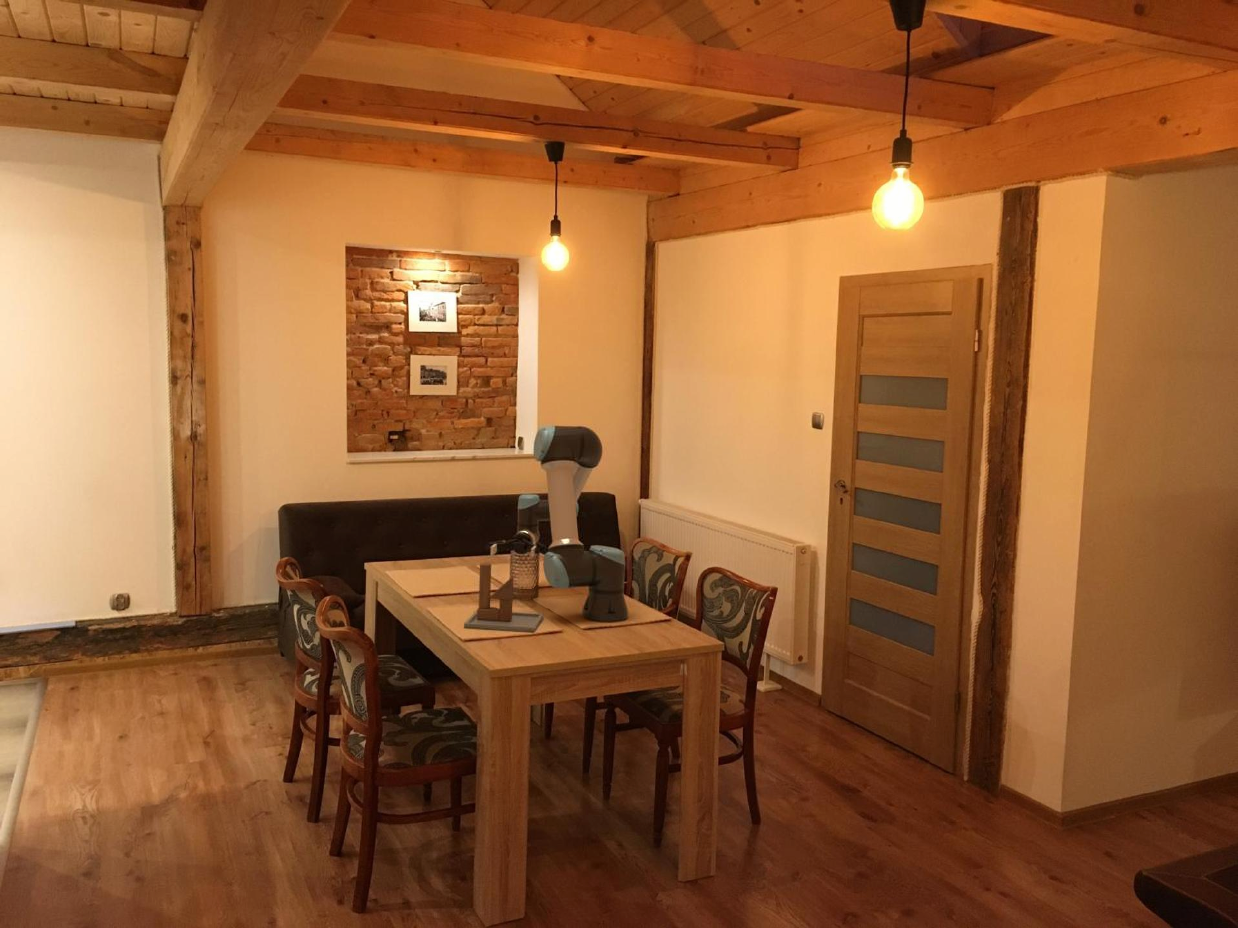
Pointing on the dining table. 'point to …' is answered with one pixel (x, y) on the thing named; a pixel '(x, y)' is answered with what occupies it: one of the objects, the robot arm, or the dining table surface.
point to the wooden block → (494, 597)
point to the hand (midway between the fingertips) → (511, 552)
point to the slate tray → (507, 623)
